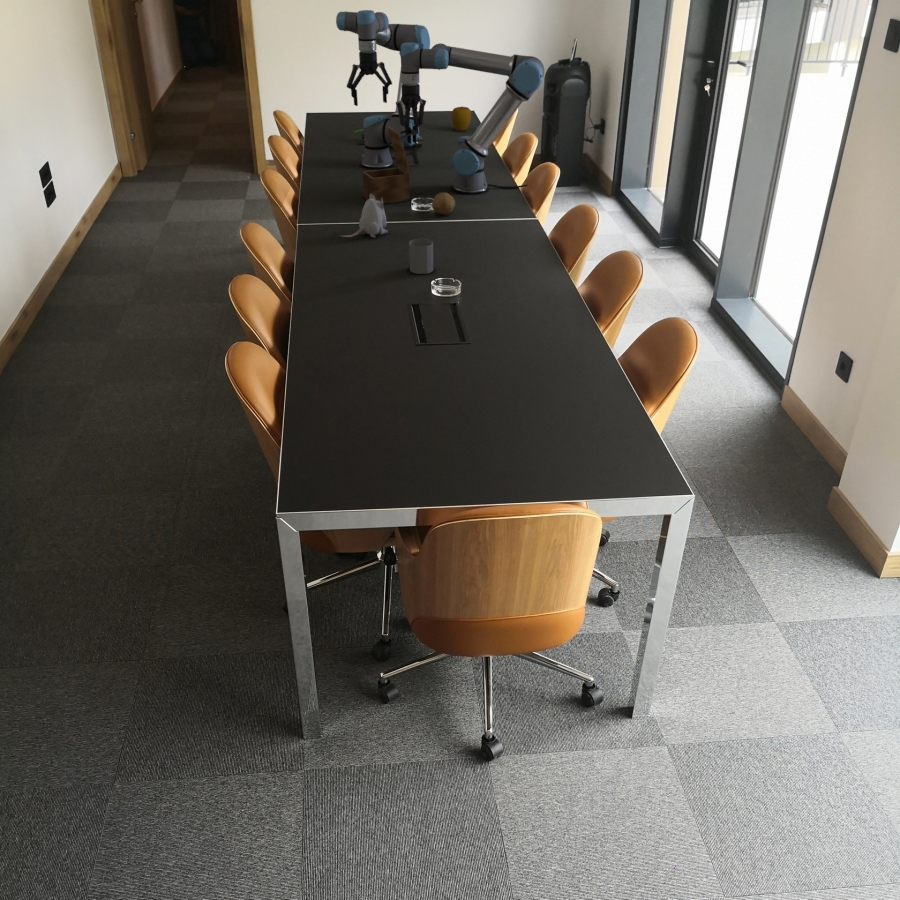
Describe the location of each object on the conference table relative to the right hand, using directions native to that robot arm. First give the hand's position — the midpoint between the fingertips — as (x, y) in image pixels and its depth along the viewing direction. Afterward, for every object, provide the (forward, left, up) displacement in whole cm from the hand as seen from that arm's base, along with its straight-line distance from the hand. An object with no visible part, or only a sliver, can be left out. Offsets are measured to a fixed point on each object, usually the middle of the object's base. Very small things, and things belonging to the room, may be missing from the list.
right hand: (411, 142), depth 372 cm
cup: (+28, +87, -23) cm, 94 cm away
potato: (-3, +29, -23) cm, 37 cm away
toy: (+37, +46, -23) cm, 64 cm away
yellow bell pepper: (-68, -108, -23) cm, 130 cm away
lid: (+7, 0, -3) cm, 7 cm away
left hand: (+11, -23, +12) cm, 28 cm away
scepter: (-17, -99, -23) cm, 103 cm away
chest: (+12, 0, -23) cm, 26 cm away
